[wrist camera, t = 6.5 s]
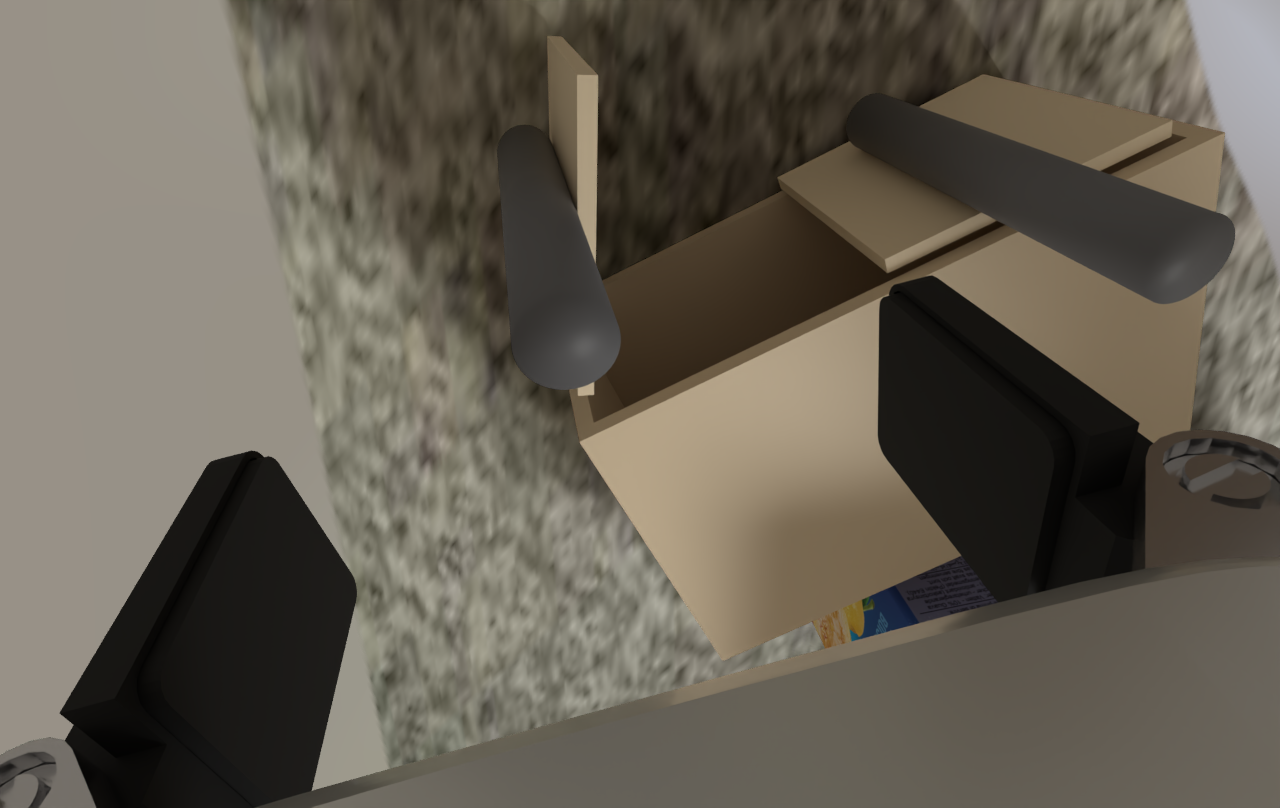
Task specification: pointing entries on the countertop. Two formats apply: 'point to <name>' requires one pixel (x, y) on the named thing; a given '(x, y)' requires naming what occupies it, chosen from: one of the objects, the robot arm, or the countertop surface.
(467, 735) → the countertop surface
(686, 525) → the wooden cabinet
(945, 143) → the flap
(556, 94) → the flap
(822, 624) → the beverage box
